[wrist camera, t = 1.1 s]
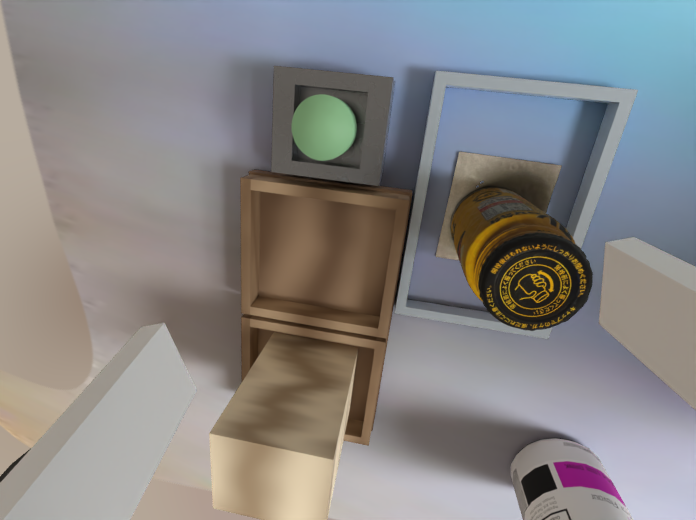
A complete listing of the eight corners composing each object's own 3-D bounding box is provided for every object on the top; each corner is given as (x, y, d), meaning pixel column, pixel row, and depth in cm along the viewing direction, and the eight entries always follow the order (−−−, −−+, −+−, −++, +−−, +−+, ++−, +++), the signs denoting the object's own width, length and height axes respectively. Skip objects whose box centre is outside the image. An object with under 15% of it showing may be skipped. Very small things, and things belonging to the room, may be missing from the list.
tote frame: (625, 91, 24) (638, 89, 23) (542, 329, 31) (548, 339, 30) (434, 73, 26) (436, 70, 24) (395, 305, 33) (394, 313, 31)
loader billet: (358, 347, 33) (333, 460, 22) (350, 406, 36) (324, 534, 25) (273, 332, 34) (209, 433, 23) (271, 391, 37) (213, 508, 26)
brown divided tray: (412, 190, 29) (412, 198, 26) (373, 421, 38) (370, 447, 35) (254, 169, 30) (237, 174, 27) (252, 397, 39) (239, 420, 36)
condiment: (435, 255, 31) (450, 333, 20) (458, 151, 27) (492, 172, 16) (525, 270, 30) (594, 359, 19) (560, 165, 27) (667, 196, 16)
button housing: (394, 81, 26) (393, 77, 24) (381, 179, 29) (378, 185, 26) (287, 71, 27) (273, 65, 24) (284, 167, 30) (271, 171, 27)
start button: (360, 99, 24) (356, 97, 23) (353, 161, 26) (349, 164, 24) (301, 93, 25) (293, 91, 23) (298, 154, 26) (290, 156, 24)
